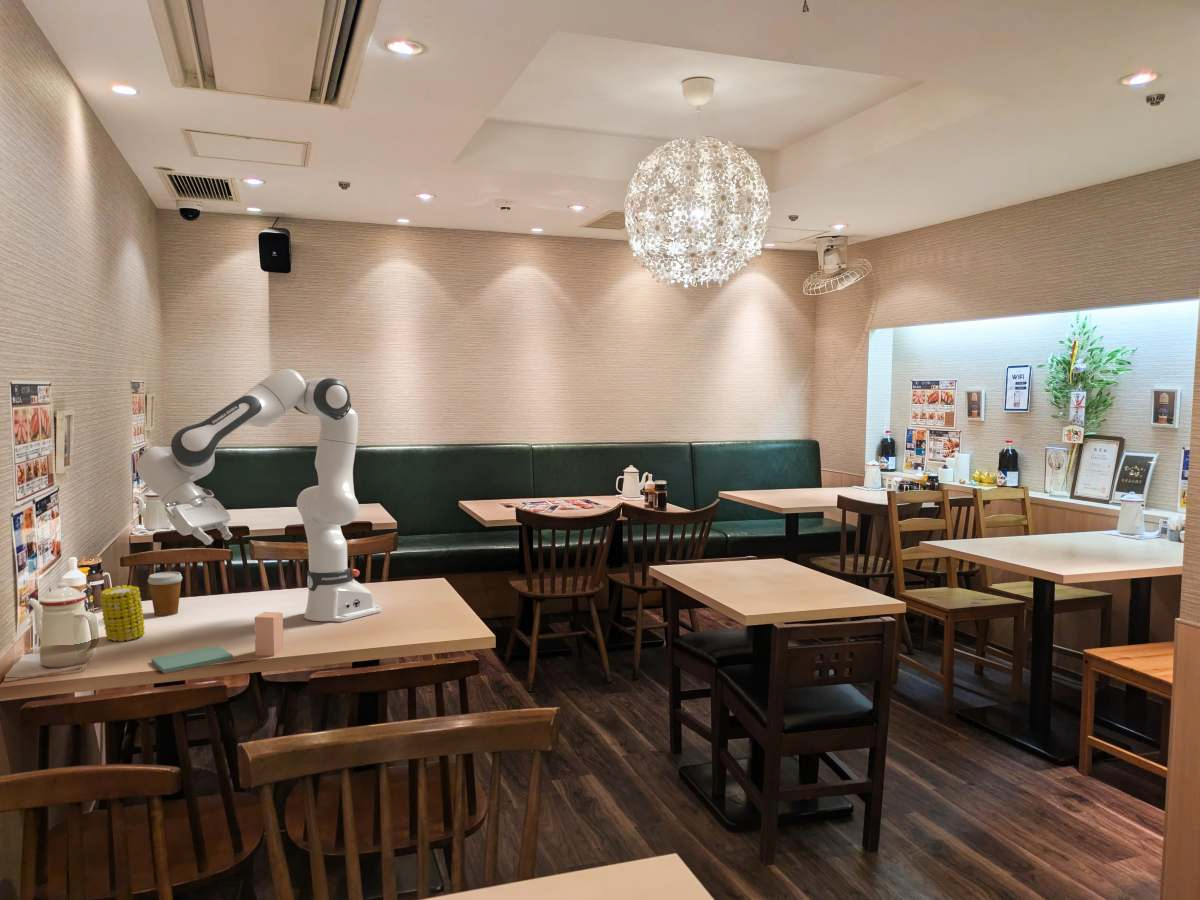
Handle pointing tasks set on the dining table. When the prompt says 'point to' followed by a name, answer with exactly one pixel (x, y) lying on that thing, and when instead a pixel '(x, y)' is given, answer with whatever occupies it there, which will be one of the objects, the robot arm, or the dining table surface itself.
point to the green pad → (191, 659)
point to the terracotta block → (269, 633)
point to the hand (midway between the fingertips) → (220, 540)
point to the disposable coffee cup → (165, 592)
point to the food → (122, 613)
